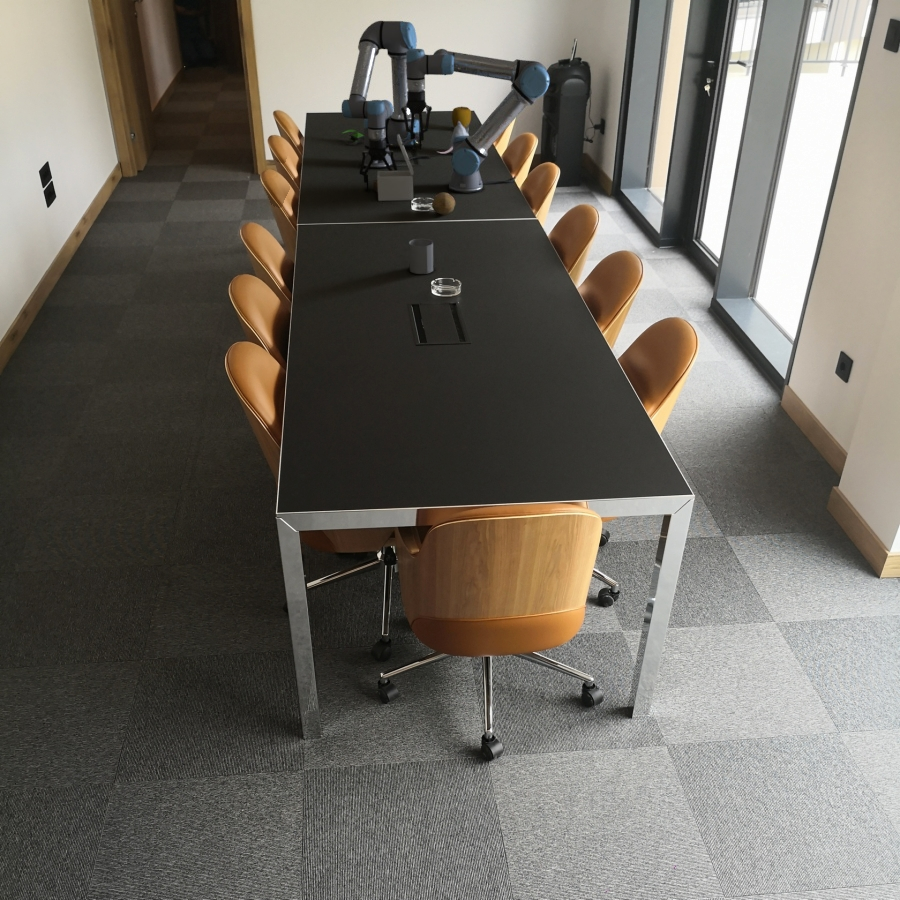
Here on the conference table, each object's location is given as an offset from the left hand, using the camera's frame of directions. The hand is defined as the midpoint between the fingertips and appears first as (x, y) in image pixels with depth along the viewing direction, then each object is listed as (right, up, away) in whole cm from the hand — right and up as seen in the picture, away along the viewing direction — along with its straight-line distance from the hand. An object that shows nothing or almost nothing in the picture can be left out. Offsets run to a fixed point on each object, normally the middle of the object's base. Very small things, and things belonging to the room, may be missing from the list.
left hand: (379, 189), depth 392 cm
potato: (+29, -19, -29) cm, 45 cm away
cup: (+22, -54, -83) cm, 102 cm away
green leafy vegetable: (-12, +48, +75) cm, 89 cm away
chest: (+8, -6, -9) cm, 13 cm away
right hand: (+18, +12, -20) cm, 29 cm away
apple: (+38, +63, +99) cm, 124 cm away
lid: (+12, +9, -18) cm, 24 cm away
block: (0, 0, 0) cm, 0 cm away
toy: (+34, +33, +53) cm, 71 cm away
